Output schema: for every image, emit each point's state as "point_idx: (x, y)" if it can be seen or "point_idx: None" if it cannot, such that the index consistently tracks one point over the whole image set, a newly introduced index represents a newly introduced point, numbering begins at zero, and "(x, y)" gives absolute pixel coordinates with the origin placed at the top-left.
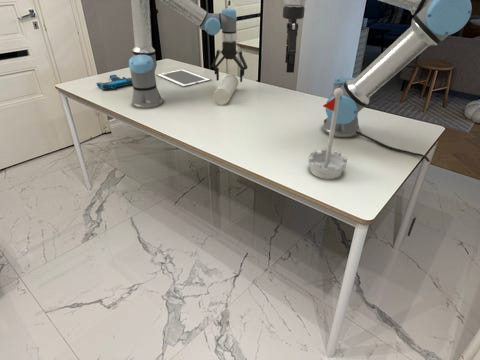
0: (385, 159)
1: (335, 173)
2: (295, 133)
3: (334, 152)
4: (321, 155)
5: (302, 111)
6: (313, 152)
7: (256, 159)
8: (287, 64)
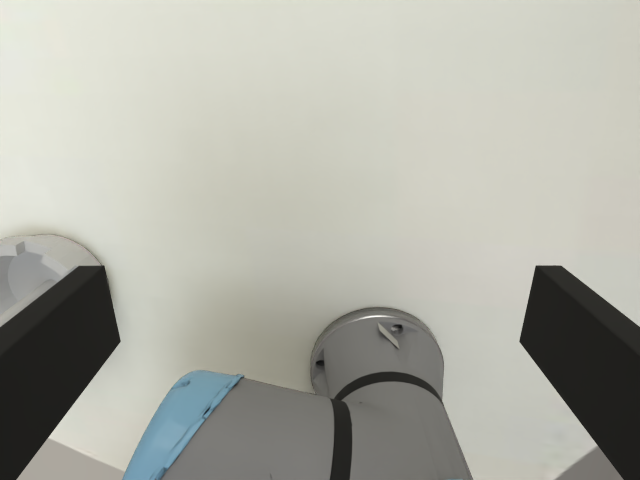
0: None
1: (5, 309)
2: (341, 199)
3: None
4: None
5: (585, 244)
6: (47, 263)
7: (65, 21)
8: (11, 325)
